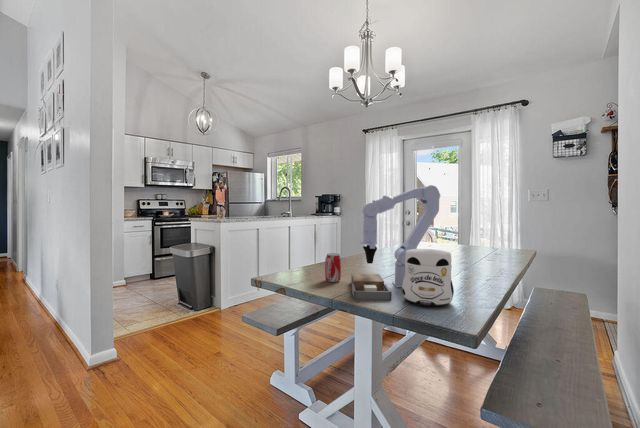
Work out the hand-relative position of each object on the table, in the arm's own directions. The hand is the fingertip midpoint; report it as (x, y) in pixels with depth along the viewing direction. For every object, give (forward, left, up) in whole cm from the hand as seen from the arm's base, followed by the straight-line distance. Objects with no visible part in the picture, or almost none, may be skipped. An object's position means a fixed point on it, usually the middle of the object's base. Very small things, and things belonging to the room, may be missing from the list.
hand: (369, 263), depth 138 cm
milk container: (-17, +23, -10) cm, 30 cm away
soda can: (+16, -6, -10) cm, 19 cm away
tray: (+2, +16, -9) cm, 18 cm away
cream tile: (+2, +15, -6) cm, 16 cm away
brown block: (+2, +4, -9) cm, 10 cm away
